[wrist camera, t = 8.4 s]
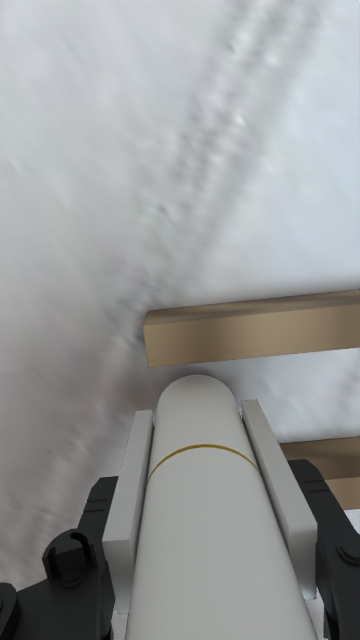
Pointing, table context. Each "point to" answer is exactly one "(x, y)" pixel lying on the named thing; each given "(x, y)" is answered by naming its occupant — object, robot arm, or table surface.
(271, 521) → the tube
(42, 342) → the table surface
